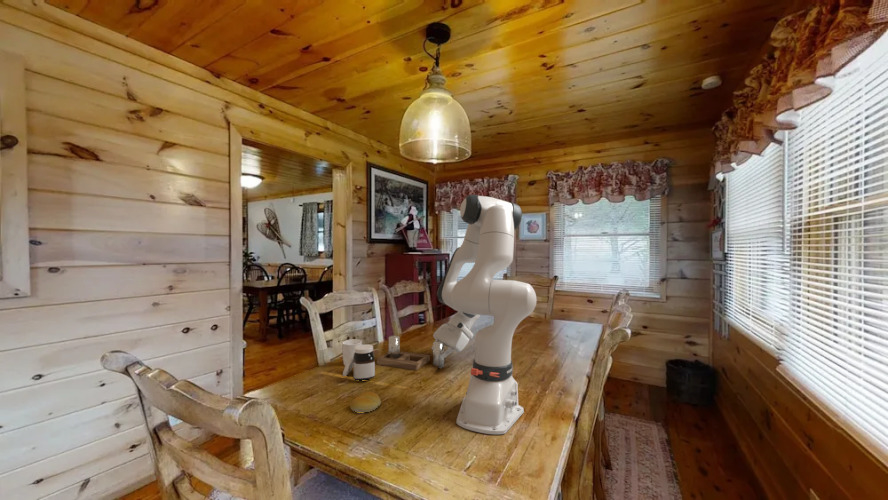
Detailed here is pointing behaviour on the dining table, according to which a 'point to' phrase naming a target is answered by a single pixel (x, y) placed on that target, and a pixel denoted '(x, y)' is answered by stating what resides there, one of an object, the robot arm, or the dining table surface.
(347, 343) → the white cup
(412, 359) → the wooden divided tray
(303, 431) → the dining table surface
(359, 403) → the bread roll
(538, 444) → the dining table surface
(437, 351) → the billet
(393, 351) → the cylinder
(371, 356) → the spread jar
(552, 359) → the dining table surface
